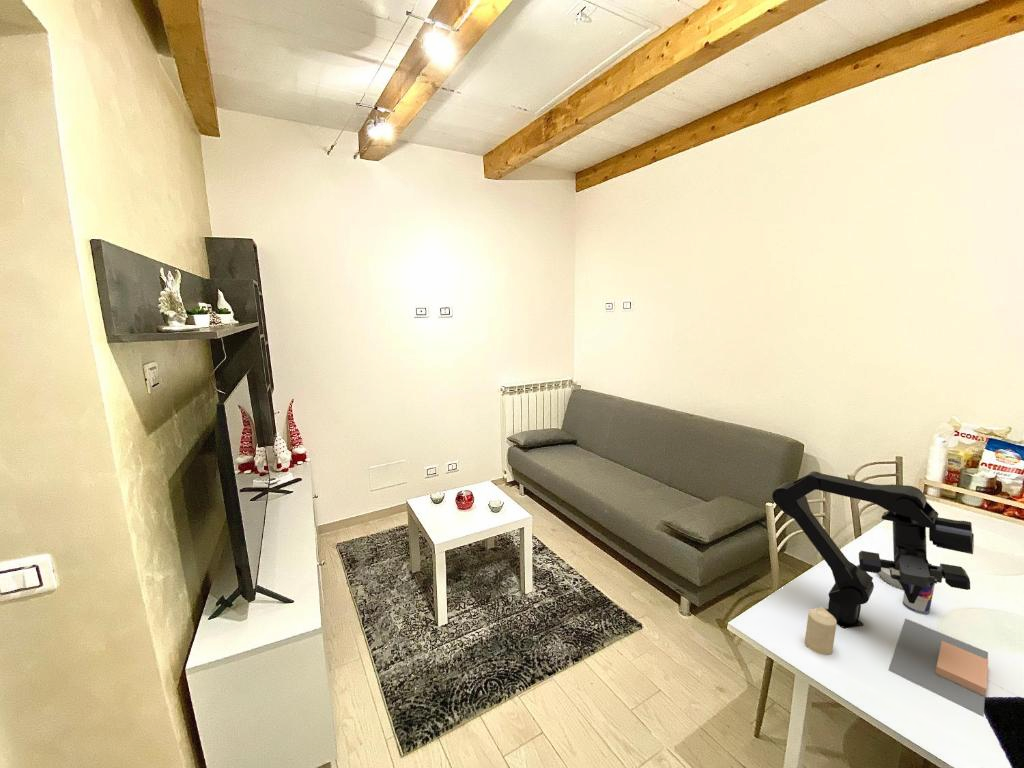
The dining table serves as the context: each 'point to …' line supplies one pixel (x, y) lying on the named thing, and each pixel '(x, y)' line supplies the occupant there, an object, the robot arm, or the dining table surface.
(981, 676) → the tile
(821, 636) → the candle
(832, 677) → the dining table surface
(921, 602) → the energy drink
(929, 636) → the mat
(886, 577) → the small pan
